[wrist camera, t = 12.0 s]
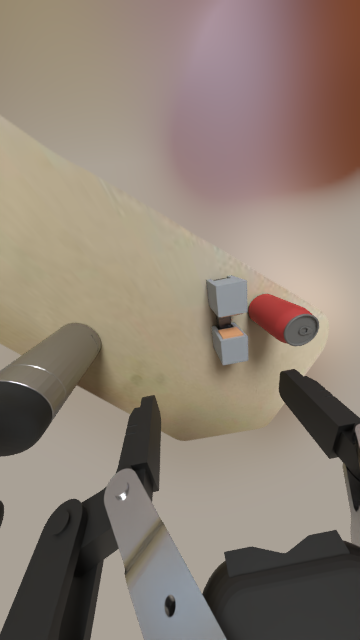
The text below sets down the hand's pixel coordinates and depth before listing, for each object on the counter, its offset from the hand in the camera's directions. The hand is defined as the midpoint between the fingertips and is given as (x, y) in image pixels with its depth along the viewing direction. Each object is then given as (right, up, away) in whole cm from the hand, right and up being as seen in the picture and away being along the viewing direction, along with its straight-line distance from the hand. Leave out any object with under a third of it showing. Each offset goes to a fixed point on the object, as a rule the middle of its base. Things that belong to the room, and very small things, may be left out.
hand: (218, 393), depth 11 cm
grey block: (+8, +1, +28) cm, 29 cm away
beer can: (+16, +7, +27) cm, 32 cm away
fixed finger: (+6, +11, +24) cm, 27 cm away
